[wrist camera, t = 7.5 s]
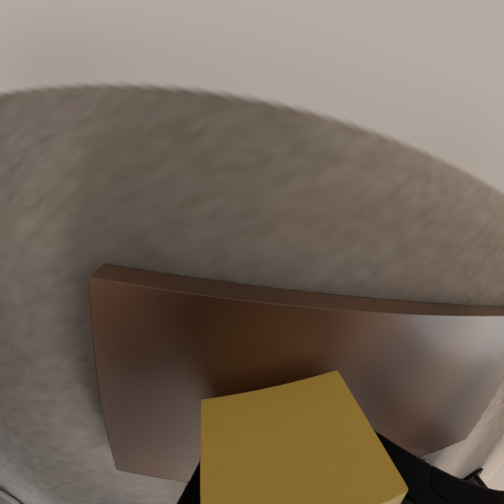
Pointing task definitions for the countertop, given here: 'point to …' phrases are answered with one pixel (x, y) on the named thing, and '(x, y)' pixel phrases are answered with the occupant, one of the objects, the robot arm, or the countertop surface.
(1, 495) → the flower vase
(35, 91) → the countertop surface
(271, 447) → the cheese
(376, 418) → the board
